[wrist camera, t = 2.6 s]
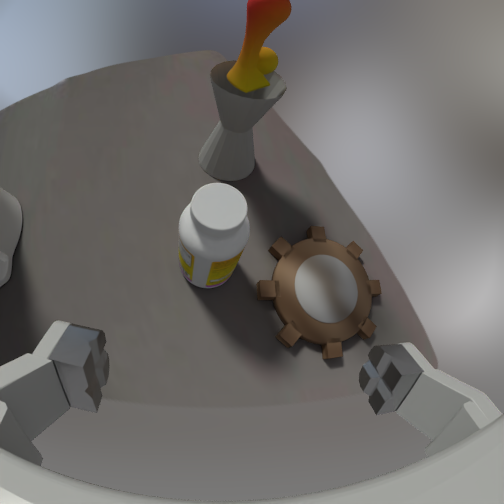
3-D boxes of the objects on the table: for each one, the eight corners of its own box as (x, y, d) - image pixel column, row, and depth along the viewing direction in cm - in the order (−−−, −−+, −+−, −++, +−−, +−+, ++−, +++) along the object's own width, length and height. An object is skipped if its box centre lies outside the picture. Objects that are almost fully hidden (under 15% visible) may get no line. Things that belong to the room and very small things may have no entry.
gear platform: (332, 386, 31) (338, 386, 30) (226, 291, 33) (229, 287, 32) (392, 289, 39) (399, 285, 38) (309, 209, 41) (313, 203, 40)
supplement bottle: (240, 251, 36) (270, 191, 25) (222, 298, 33) (245, 255, 22) (192, 230, 36) (200, 163, 24) (169, 276, 33) (164, 222, 21)
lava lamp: (224, 192, 39) (313, -75, 8) (185, 153, 40) (229, -86, 9) (267, 165, 43) (367, -48, 12) (229, 131, 44) (293, -71, 13)
